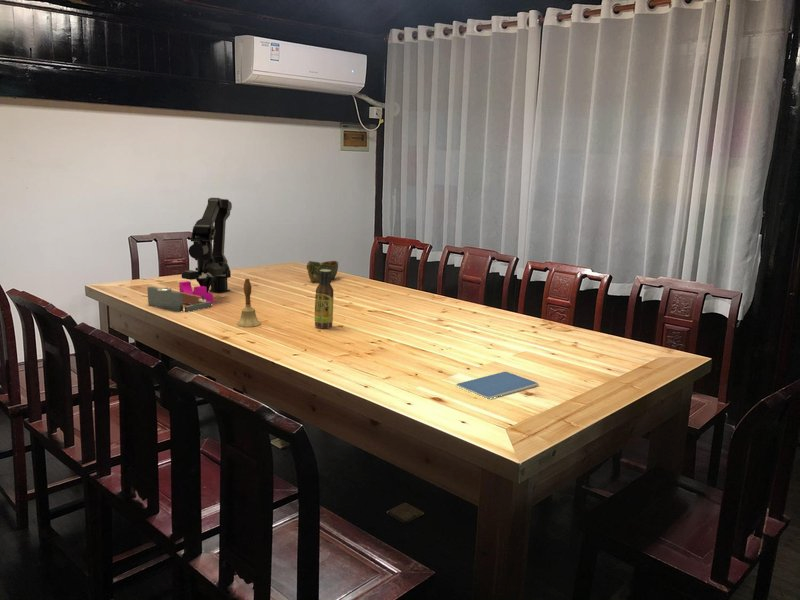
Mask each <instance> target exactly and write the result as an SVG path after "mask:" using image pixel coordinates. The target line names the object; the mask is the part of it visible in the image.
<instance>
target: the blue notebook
mask: <svg viewBox="0 0 800 600" xmlns="http://www.w3.org/2000/svg"><path fill="white" fill-rule="evenodd" d="M455 385H457V386H459V387H461V388H464V389H466V390H468V391H470V392H473V393H475V394H477V395H479V396H482V397H484V398H487V399H490V398H494V397H498V396H501V395H504V396H507V395H506V394H508V395H510V394H509V393H511V394H514V392H515V393H517V391H518V392H521V391H524V389H525V390H528V389H531V388H536V387H538V386H539V383H538V382H536V381H533V380H531V379H527V378H525V377H523V376H520V375H516V374H514V373H513V372H512V373H511V372H508V371H501V372H498V373H494V374H489V375H486V376H481V377H479V378H478V377H477V378H474V379H471V380H467V381H462V382H459V383H456V384H455ZM535 386H536V387H535ZM470 392H469V393H470ZM477 395H476V396H477ZM479 396H478V397H479ZM501 397H502V396H501ZM484 398H483V399H484ZM498 398H499V397H498Z"/></svg>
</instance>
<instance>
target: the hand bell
mask: <svg viewBox="0 0 800 600" xmlns="http://www.w3.org/2000/svg"><path fill="white" fill-rule="evenodd" d="M243 294H244V297H245V307H244V308H242V309H241V315H240V319H239V320H238V321H237V323H236V324H237V325H238V326H237V325H236V326H237V327H240V326H241V327H242V328H252V327H253V328H254V326H255V327H259V326H260V324H261V325H262V323H261V321H260V320H259V319H258V317H257V313H256V309H255V308H254V307H252V305H251V304H252V303H251V294H252V283H251V282H250V279H249V278H245V280H244V283H243ZM258 325H259V326H258ZM241 327H240V328H241Z"/></svg>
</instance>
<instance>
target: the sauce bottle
mask: <svg viewBox="0 0 800 600" xmlns="http://www.w3.org/2000/svg"><path fill="white" fill-rule="evenodd" d="M319 275H320V281H319V283H318V285H317V287H316V289H315V296H314V298H315V299H314V302H315V303H314V326H315V327H316V328H318V329H329V328H330V327H331V328H332V327H333V320H334V291H335V290H334V288H333V286H332V284H331V282H332V281H330V279H331V270H327V269H322V270H320V271H319ZM331 328H330V329H331Z"/></svg>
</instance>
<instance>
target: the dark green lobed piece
mask: <svg viewBox="0 0 800 600" xmlns="http://www.w3.org/2000/svg"><path fill="white" fill-rule="evenodd" d="M322 269H327V270H331V279H330V281H331V282H332V281H334V280H335V278H336V276H337V274H338V271H339V270H338V269H339V261H337V260H329V261H323V262H318V261H313V260H312V261H311V260H308V262H307V264H306V270H307V273H308V274H307V275H308V277H309V279H310V281H311V282H312V283H316V284H319V281H320V275H319V271H320V270H322Z"/></svg>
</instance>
